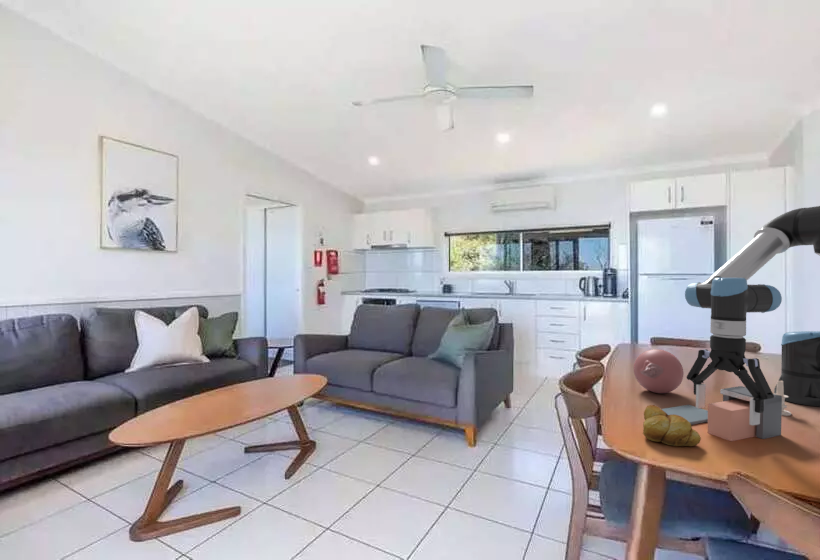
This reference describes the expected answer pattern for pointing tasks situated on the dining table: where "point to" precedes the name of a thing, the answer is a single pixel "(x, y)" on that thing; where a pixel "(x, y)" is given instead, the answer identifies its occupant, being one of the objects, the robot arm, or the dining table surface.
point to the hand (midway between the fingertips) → (725, 415)
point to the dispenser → (768, 417)
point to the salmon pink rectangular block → (730, 420)
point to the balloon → (658, 371)
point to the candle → (781, 392)
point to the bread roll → (668, 428)
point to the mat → (689, 413)
